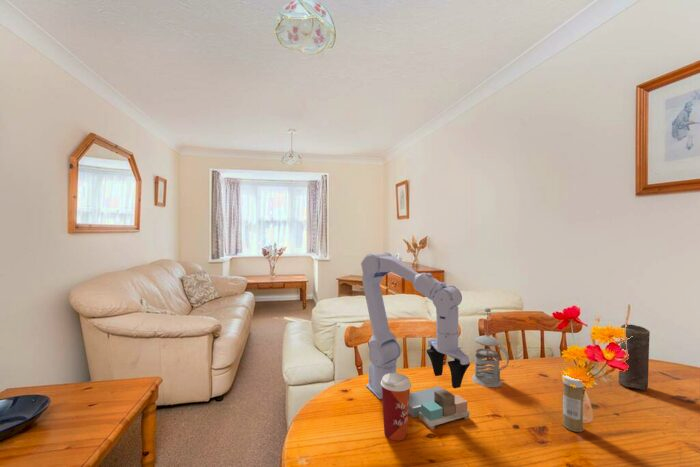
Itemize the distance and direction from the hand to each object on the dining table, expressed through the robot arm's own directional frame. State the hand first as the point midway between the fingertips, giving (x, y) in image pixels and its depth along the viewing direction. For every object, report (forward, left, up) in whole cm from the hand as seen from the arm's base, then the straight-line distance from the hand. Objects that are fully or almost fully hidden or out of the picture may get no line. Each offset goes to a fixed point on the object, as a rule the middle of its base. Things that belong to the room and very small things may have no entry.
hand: (447, 381), depth 88 cm
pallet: (0, -1, -11) cm, 11 cm away
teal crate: (0, -5, -9) cm, 10 cm away
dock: (-8, -1, -10) cm, 13 cm away
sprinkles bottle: (+16, +28, -11) cm, 34 cm away
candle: (+10, +70, -11) cm, 72 cm away
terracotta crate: (0, +4, -9) cm, 9 cm away
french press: (-12, +29, -11) cm, 33 cm away
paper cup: (0, -16, -11) cm, 19 cm away
